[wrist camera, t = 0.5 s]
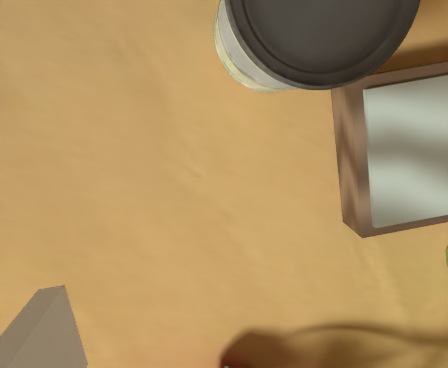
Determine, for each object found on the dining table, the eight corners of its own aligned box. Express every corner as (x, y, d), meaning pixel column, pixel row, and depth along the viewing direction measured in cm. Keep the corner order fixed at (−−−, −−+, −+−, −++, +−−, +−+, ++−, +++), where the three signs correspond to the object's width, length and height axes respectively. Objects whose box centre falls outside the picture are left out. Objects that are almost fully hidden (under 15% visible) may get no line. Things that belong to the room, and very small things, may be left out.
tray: (330, 81, 33) (353, 78, 28) (475, 56, 33) (522, 49, 28) (342, 221, 36) (365, 240, 31) (474, 196, 37) (516, 212, 32)
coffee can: (217, -38, 30) (233, -154, 16) (335, -24, 31) (445, -122, 17) (208, 88, 32) (216, 80, 18) (317, 97, 33) (402, 98, 19)
